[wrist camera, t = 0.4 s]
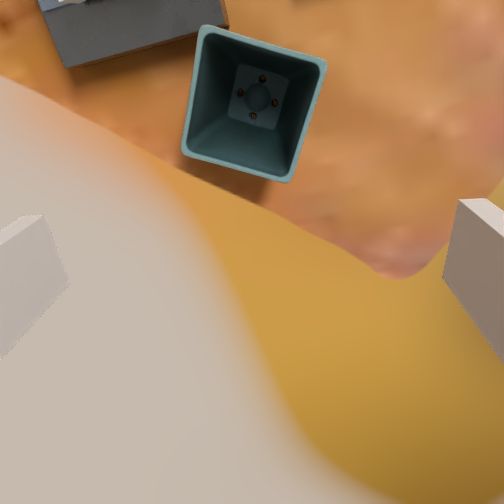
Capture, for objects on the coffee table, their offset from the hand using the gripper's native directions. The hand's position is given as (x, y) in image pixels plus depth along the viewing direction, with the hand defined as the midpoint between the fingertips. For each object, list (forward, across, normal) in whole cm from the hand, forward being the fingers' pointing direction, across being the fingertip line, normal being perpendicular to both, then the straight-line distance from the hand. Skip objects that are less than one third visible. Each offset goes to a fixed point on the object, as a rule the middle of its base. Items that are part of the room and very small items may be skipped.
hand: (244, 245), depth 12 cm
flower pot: (+26, -1, +2) cm, 26 cm away
